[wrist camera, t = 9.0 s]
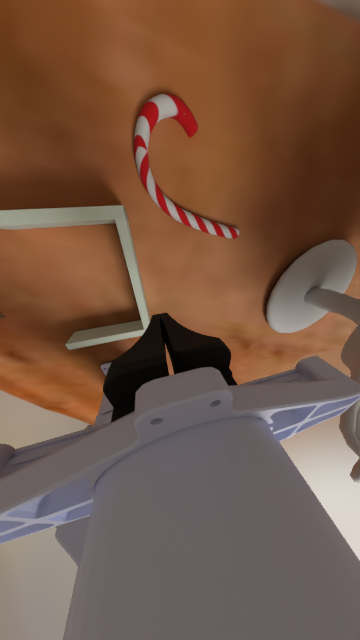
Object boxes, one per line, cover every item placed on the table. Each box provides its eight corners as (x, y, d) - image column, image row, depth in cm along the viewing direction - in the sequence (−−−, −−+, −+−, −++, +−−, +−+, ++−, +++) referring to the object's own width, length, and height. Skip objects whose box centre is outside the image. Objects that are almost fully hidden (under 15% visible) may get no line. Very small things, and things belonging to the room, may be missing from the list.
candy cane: (225, 258, 19) (119, 174, 13) (221, 257, 20) (121, 179, 14) (263, 199, 17) (154, 56, 10) (256, 202, 18) (153, 74, 11)
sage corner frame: (151, 323, 23) (152, 333, 20) (77, 336, 21) (68, 349, 18) (126, 211, 15) (122, 205, 12) (4, 217, 13) (-29, 211, 10)
